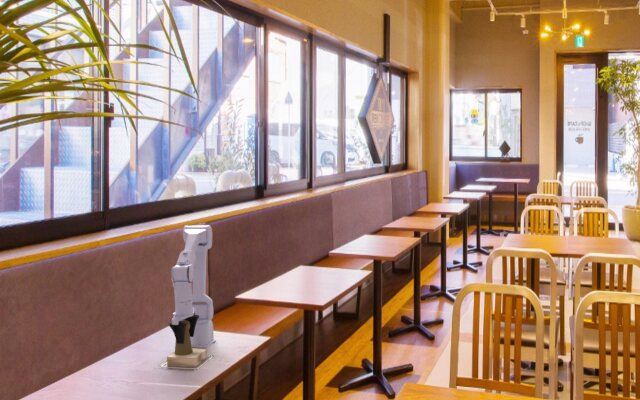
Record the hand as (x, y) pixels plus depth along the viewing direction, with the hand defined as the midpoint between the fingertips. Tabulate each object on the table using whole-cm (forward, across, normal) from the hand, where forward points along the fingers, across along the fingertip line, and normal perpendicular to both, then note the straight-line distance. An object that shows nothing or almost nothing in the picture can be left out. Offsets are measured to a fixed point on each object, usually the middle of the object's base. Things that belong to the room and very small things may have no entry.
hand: (185, 339), depth 227 cm
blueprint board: (+8, 0, -1) cm, 8 cm away
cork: (+5, 0, -1) cm, 5 cm away
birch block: (+8, 0, 0) cm, 8 cm away
